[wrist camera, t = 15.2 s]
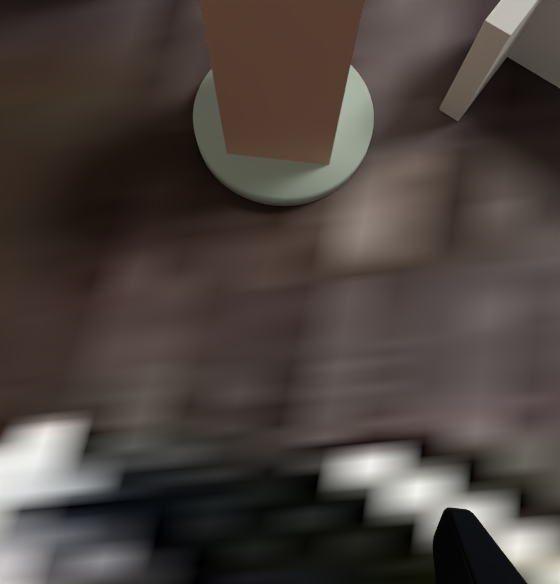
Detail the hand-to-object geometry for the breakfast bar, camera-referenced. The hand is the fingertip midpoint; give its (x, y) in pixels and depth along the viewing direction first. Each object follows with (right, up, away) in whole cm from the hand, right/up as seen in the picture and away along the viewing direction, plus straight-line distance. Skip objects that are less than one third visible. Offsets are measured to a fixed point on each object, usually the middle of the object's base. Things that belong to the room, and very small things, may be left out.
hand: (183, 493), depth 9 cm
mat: (+2, +12, +17) cm, 21 cm away
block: (+2, +12, +16) cm, 20 cm away
